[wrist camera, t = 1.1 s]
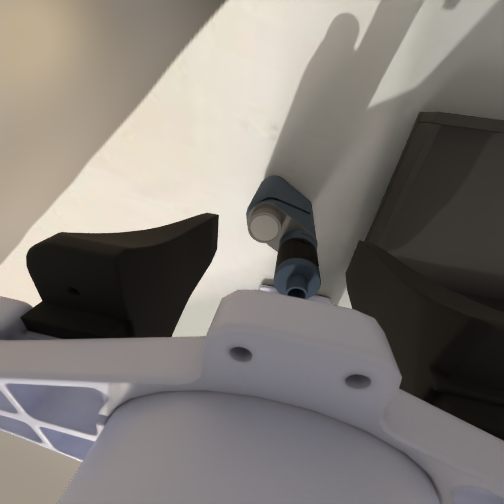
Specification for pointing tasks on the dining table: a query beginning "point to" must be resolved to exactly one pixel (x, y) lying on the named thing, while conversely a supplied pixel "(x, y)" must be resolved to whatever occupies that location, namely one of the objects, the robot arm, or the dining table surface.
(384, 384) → the robot arm
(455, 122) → the tray
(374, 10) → the dining table surface
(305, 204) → the vaping device
